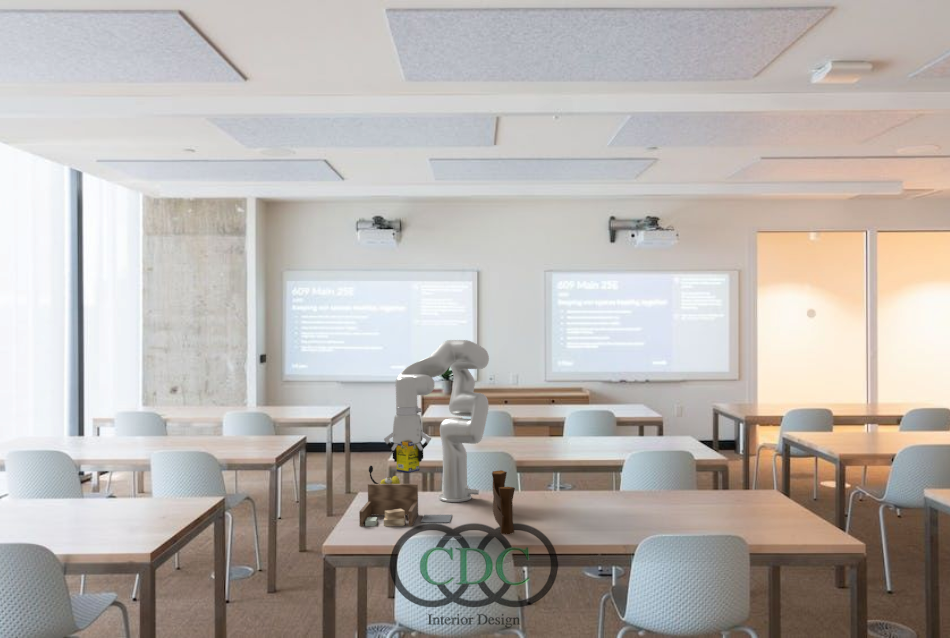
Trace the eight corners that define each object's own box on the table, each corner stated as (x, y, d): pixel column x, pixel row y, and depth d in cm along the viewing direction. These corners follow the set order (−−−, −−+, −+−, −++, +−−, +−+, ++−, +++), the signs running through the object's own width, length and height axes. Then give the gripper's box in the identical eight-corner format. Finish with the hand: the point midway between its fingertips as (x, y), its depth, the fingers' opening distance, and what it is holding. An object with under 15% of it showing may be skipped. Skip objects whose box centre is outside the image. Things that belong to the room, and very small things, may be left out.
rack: (418, 514, 272) (417, 483, 272) (411, 526, 256) (411, 493, 256) (368, 514, 273) (368, 483, 273) (359, 526, 257) (359, 493, 257)
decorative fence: (490, 510, 276) (490, 470, 276) (506, 510, 276) (505, 469, 276) (499, 536, 242) (498, 490, 242) (517, 536, 242) (516, 489, 242)
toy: (408, 470, 288) (369, 467, 287) (403, 507, 288) (364, 503, 286) (407, 467, 295) (369, 464, 293) (403, 503, 294) (364, 500, 292)
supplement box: (408, 473, 261) (407, 442, 261) (396, 471, 265) (395, 440, 265) (420, 470, 266) (419, 439, 266) (408, 468, 270) (407, 438, 270)
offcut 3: (405, 523, 261) (405, 516, 261) (404, 526, 257) (404, 519, 257) (385, 523, 261) (385, 516, 261) (383, 527, 257) (383, 519, 257)
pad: (452, 515, 269) (452, 514, 269) (449, 523, 259) (449, 521, 259) (424, 515, 269) (424, 514, 269) (420, 523, 259) (420, 521, 259)
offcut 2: (401, 515, 262) (401, 508, 262) (404, 518, 258) (404, 510, 258) (384, 518, 259) (384, 510, 259) (388, 520, 256) (388, 513, 256)
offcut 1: (377, 522, 262) (377, 517, 262) (375, 526, 257) (375, 520, 257) (367, 523, 262) (367, 517, 262) (365, 526, 257) (365, 521, 257)
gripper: (432, 410, 268) (434, 458, 268) (385, 410, 270) (386, 459, 270) (429, 412, 261) (430, 463, 261) (380, 413, 262) (381, 463, 263)
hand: (408, 460), depth 265 cm, fingers closed on supplement box, 8 cm apart
